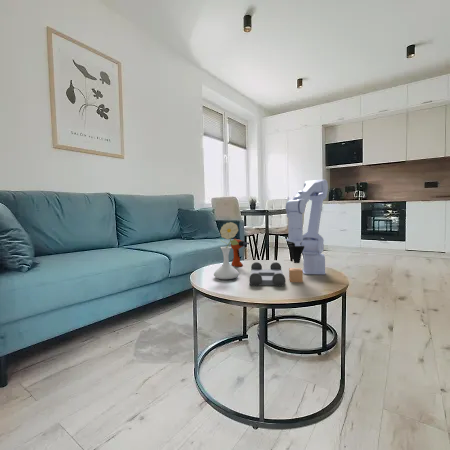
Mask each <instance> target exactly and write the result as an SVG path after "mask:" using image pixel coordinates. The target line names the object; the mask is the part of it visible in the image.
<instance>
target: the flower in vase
mask: <svg viewBox="0 0 450 450" xmlns="http://www.w3.org/2000/svg"><path fill="white" fill-rule="evenodd" d="M220 227H221V228H220V230H219V234H220V236H221V238H223V239H226V240H229V242H228V243H227V242H226V241H223V240H222V239H220V241H221V242H223V243H225V244H227V245H226V246H220V249H221V251H222V256H223V263H222V264H221V265H220V267H219V268H217V269H216V270H215V271H214V273H213V277H214V278H217V279H220V280H233V279H235V278H238V277H239V276H240V272H239V271H238V270H237V269H236V268H235V267H234V266H232V264H230V262H229V260H230V259H229V257H230V256H229V255H230V251H231V249H232V248H231V246H229V245H231V244H232V245H237V244H239V243H238V242H237V241H236V240H234V238H235V236H237V235H236V234H238V232H239V227H238V224H236V223H234V222H231V221H230V222H226V223H223V225H222V226H220Z"/></svg>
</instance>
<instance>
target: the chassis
mask: <svg viewBox="0 0 450 450" xmlns="http://www.w3.org/2000/svg"><path fill="white" fill-rule="evenodd" d="M250 269H251V270H250V274H249V280H248V281H249V285H250V286H253V287H258V286H275V287H282V286H283V287H284V286H286V277H285V275H284V274H283V270H282V265H281V264H280V262H278V261H277V262H276V261H275V262H272V263H271V264H270V267H269V268H263V267H262V263H260V262H258V261H255V262H253V263H252V264H251V268H250Z"/></svg>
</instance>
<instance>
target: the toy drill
mask: <svg viewBox="0 0 450 450" xmlns="http://www.w3.org/2000/svg"><path fill="white" fill-rule="evenodd" d="M233 240H236V241H237V242H238V243H239V244H237V245H232V244H231V243H230V247H231V249H232V250H233V259H232V261H231V266H232V267H234V268H235V267H237V268H239V267H243V266H244V265H243V263H242V262H241V258H240V255H241V254H240V248H242V247H245V246H246V245H249V244H250V242H245V241H243V240H241V239H237V238H233Z"/></svg>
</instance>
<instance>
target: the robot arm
mask: <svg viewBox="0 0 450 450" xmlns="http://www.w3.org/2000/svg"><path fill="white" fill-rule="evenodd" d="M328 191H329V184H328V181H327V180H326V178H324V179H314V180H305V182H304V183H303V188H302V190H298V192H297V193H296V195H294V196H293V198H292V199H289V200H288V201H286V203H285V212H286V217H287V218H288V219H287V220H288V222H287V224H288V225H287V227H288V232H287V234H288V238H285V242H287V245H288V249H289V251H290V257H291V260H293V263H294V264H300V263H301V259H302V257H303V260H302V261H303V269H302V270H303V275H326V258H325V257H326V256H325V254H324V253H323V252H324V247H325V246H324V245H325V244H324V241H325V240H324V237H323V236H322V235H320V233H319V230H320V226H321V225H320V224H321V216H322V210H323V209H322V208H323V202H324V200H326V199H327V198H328V197H327V196H328ZM309 201H311V207H310V213H309V220H308V225H307V231H306V233H304V234H303V229H304V228H303V214H305V210H306V206H307V203H308V202H309ZM302 254H303V256H302Z"/></svg>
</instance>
